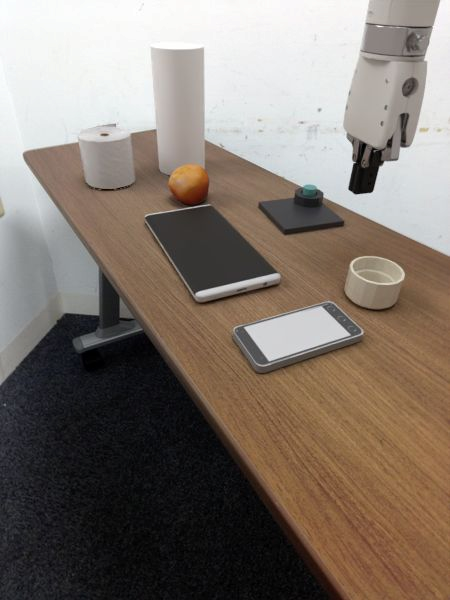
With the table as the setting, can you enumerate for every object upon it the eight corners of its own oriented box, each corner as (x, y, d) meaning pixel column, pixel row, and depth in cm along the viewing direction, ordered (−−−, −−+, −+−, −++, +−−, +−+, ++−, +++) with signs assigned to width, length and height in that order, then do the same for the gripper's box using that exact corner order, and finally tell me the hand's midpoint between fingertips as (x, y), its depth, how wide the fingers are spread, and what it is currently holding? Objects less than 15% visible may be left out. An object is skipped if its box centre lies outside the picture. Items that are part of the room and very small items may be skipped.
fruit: (225, 194, 85) (207, 163, 79) (196, 220, 84) (176, 192, 78) (203, 180, 90) (185, 151, 84) (176, 205, 89) (156, 178, 83)
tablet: (197, 306, 58) (196, 296, 57) (143, 222, 77) (142, 213, 76) (282, 285, 62) (283, 275, 61) (211, 211, 82) (211, 202, 81)
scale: (312, 199, 87) (315, 186, 85) (344, 226, 78) (347, 211, 76) (257, 207, 84) (258, 192, 82) (284, 235, 75) (286, 219, 73)
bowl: (376, 278, 64) (383, 252, 62) (406, 306, 59) (416, 279, 56) (334, 286, 62) (340, 260, 60) (362, 316, 57) (369, 288, 54)
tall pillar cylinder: (170, 179, 94) (162, 49, 79) (152, 164, 102) (142, 43, 87) (212, 172, 98) (213, 47, 83) (192, 158, 106) (190, 41, 91)
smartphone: (366, 333, 52) (258, 368, 47) (364, 339, 53) (258, 374, 48) (331, 300, 58) (230, 328, 52) (329, 306, 58) (230, 334, 53)
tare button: (311, 191, 84) (312, 183, 83) (318, 196, 82) (319, 188, 81) (299, 192, 83) (300, 185, 82) (306, 197, 81) (307, 190, 81)
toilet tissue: (94, 194, 87) (85, 144, 81) (78, 175, 95) (69, 128, 89) (143, 185, 91) (138, 137, 85) (124, 167, 99) (118, 122, 93)
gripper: (466, 51, 45) (415, 210, 56) (384, 36, 57) (355, 171, 68) (406, 52, 43) (366, 216, 54) (334, 36, 55) (313, 175, 66)
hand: (360, 191), depth 61 cm, fingers closed
